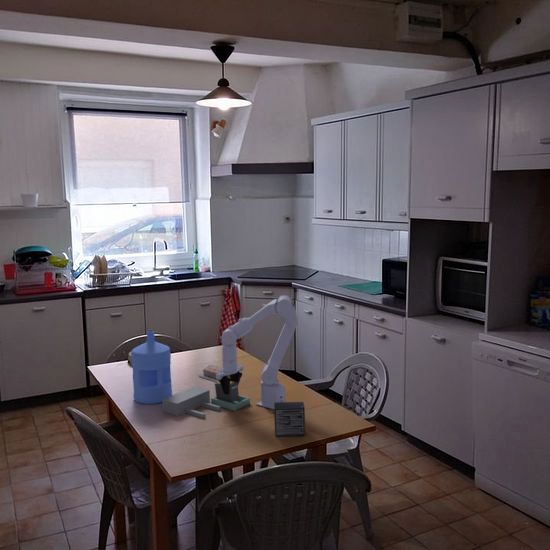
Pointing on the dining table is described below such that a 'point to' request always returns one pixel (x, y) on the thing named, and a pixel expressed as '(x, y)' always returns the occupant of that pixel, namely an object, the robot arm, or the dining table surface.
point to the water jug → (151, 371)
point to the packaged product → (211, 373)
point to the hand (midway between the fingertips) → (230, 392)
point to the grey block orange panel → (232, 394)
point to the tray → (232, 403)
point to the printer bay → (189, 402)
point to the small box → (289, 419)
